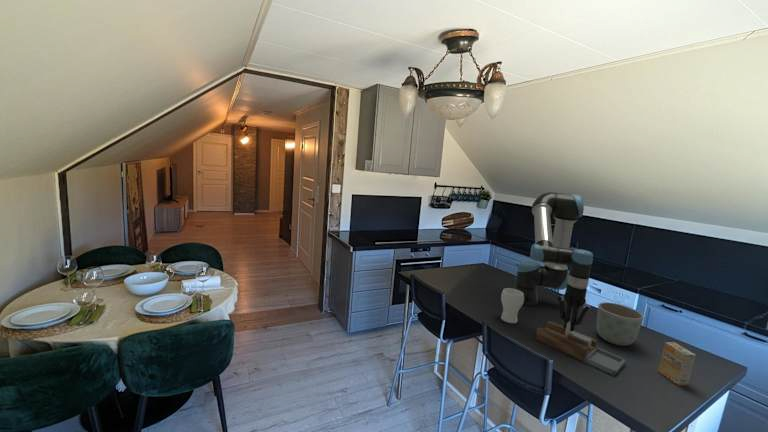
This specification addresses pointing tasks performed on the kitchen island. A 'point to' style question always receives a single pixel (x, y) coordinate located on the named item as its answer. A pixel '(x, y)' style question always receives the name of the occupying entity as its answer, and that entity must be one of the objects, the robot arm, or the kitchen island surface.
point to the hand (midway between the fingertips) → (567, 336)
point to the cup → (511, 304)
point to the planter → (618, 323)
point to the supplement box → (676, 363)
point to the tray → (605, 361)
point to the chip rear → (573, 336)
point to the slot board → (563, 341)
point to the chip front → (585, 341)
